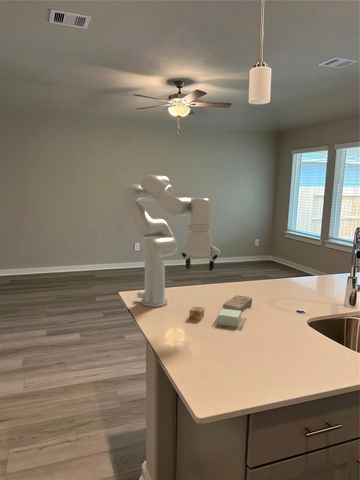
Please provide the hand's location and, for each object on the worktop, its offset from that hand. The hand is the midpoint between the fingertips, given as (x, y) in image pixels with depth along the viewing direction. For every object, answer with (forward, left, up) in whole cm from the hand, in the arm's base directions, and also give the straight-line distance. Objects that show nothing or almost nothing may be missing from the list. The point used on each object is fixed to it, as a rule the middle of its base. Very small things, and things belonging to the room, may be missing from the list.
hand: (199, 269), depth 150 cm
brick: (+13, +19, -22) cm, 32 cm away
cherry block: (-1, -1, -22) cm, 22 cm away
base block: (+13, -1, -21) cm, 25 cm away
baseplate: (+13, -1, -22) cm, 26 cm away
